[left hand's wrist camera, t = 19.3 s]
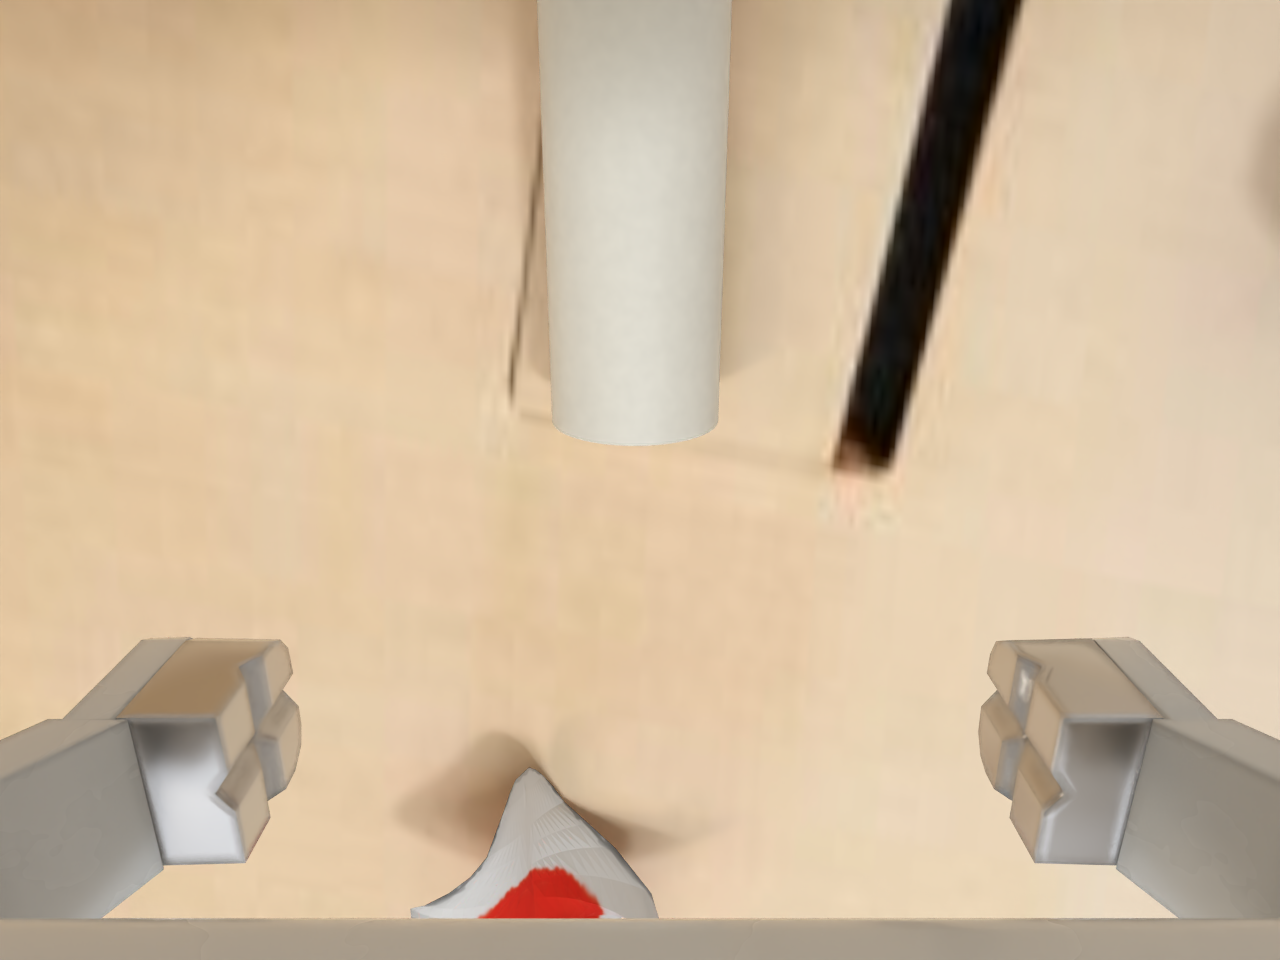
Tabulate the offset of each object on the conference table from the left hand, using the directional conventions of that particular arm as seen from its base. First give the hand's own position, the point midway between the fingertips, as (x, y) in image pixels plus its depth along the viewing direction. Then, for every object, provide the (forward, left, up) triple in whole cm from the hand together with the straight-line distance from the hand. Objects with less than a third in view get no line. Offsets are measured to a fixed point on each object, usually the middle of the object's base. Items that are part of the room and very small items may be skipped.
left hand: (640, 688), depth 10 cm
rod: (+2, +8, -26) cm, 27 cm away
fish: (-12, -26, -26) cm, 39 cm away
